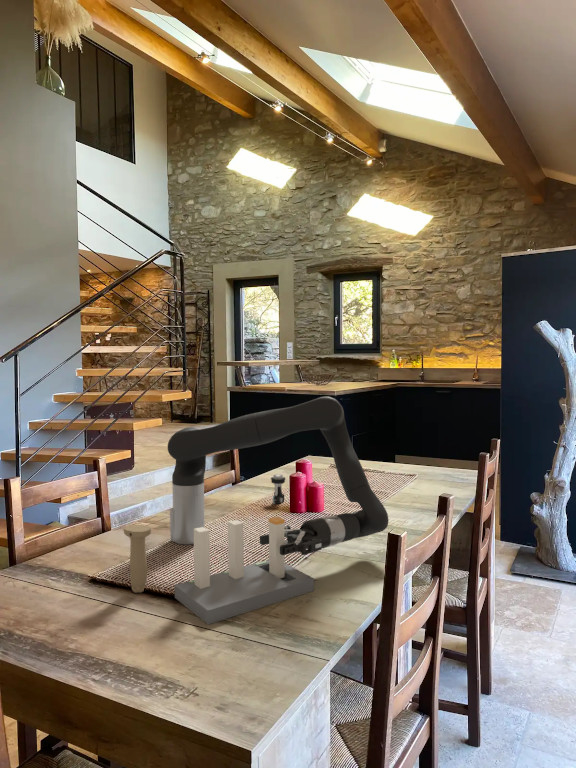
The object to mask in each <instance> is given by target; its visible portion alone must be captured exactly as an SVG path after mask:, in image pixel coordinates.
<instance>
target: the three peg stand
mask: <svg viewBox="0 0 576 768" xmlns="http://www.w3.org/2000/svg"><path fill="white" fill-rule="evenodd" d="M227 534H228V535H227V540H228V541H227V544H228V545H227V549H228V551H227V552H228V553H227V554H228V555H227V556H228V557H227V558H228V570H225V571H222V572H217V573H215V574H211V567H210V566H211V562H210V561H211V559H210V557H211V553H210V552H211V548H210V546H211V545H210V543H211V542H210V529H208V528H204V527H200V528H195V529H194V544H193V566H194V569H193V572H194V578H193V579H192V580H188V581H184V582H180V583H175V584H174V599H176V600H177V601H178V602H180V603H181V604H182V605H183V606H185V608H187V609H188V610H190V611H191V612H192V613H193V614H194V615H196V616H197V617H198V618H199V619H200V620H201V621H202V622H204V623H206V625H212V624H214V623H217V622H221V621H224V620H226V619H231V618H234V617H235V616H240V615H242V614H245V613H248V612H251V611H255V610H257V609H261V608H263V607H268V606H270V605H273V604H276V603H280V602H282V601H286V600H290V599H292V598H295V597H298V596H301V595H305V594H308V593H311V592H313V591H314V590H315V578H314V577H312V576H310V575H309V574H307V573H305V572H303V571H301V570H299V569H297V568H295V567H293V566H291V565H289V564H287V563H285V577H284V578H281V579H279V578H278V577H276V576H274V575H272V574H270V573H269V559H266V560H263V561H260V562H259V561H258V562H256V563H252V564H247V565H244V564H245V563H244V561H245V557H244V556H245V555H244V551H245V550H244V544H245V543H244V542H245V541H244V522H242V521H240V520H238V519H235V520H229V521H228V522H227Z"/></svg>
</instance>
